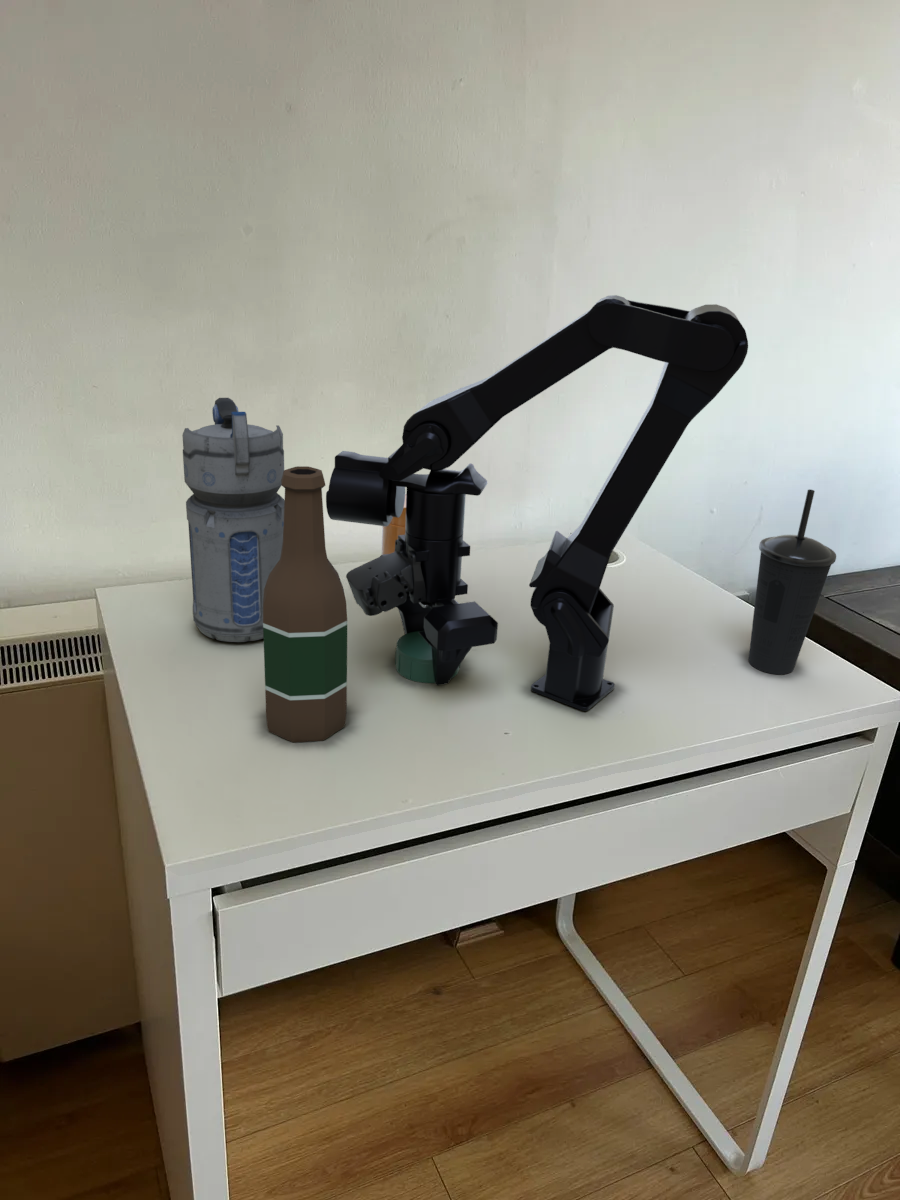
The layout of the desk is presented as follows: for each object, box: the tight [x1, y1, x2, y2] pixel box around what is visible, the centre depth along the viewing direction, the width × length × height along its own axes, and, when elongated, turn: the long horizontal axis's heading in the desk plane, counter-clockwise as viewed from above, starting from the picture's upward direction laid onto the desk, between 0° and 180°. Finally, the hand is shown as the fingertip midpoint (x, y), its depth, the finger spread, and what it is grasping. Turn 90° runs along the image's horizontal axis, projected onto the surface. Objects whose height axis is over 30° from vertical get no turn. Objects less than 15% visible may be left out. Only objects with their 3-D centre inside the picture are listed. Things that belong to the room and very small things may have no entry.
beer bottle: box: [263, 465, 348, 743], centre depth 78 cm, size 8×8×24 cm
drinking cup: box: [748, 489, 837, 675], centre depth 95 cm, size 8×8×20 cm
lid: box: [394, 631, 461, 684], centre depth 94 cm, size 7×7×3 cm
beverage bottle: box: [181, 397, 285, 643], centre depth 96 cm, size 10×13×25 cm
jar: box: [381, 493, 406, 555], centre depth 113 cm, size 6×6×11 cm
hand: (427, 671), depth 95 cm, fingers closed on lid, 6 cm apart
